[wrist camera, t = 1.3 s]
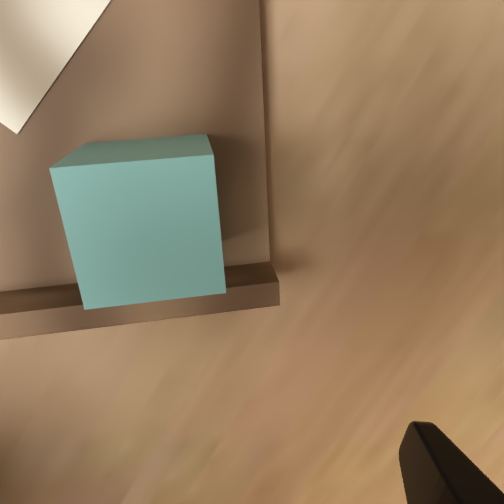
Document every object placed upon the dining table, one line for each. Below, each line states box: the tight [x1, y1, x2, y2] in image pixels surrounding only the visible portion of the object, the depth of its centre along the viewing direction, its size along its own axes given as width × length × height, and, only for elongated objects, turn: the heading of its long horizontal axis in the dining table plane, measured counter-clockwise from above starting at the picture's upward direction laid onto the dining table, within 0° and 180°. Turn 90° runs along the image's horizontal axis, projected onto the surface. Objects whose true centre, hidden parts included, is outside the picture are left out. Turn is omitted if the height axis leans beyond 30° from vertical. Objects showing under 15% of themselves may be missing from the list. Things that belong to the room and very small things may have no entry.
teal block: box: [49, 134, 226, 310], centre depth 16 cm, size 5×5×5 cm
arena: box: [0, 0, 280, 340], centre depth 16 cm, size 18×18×3 cm
